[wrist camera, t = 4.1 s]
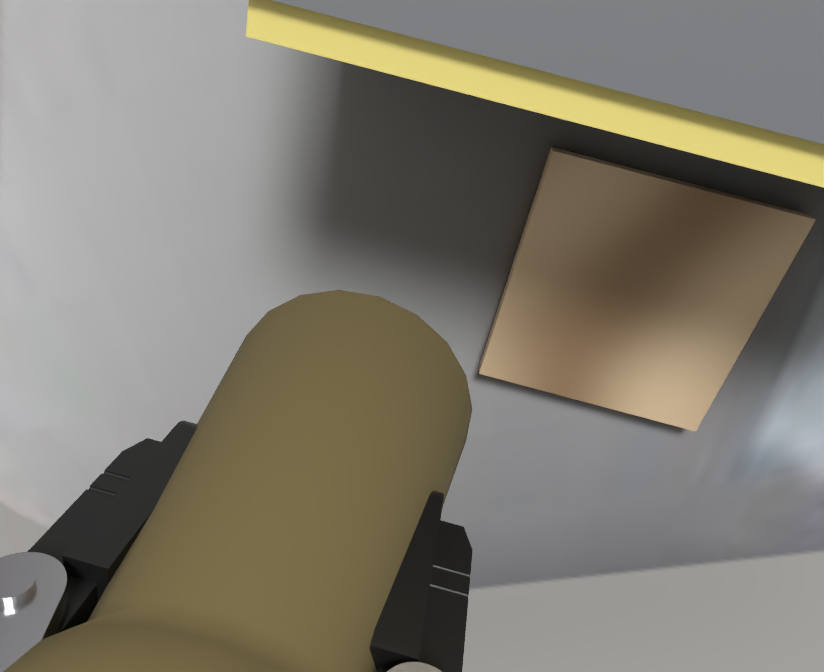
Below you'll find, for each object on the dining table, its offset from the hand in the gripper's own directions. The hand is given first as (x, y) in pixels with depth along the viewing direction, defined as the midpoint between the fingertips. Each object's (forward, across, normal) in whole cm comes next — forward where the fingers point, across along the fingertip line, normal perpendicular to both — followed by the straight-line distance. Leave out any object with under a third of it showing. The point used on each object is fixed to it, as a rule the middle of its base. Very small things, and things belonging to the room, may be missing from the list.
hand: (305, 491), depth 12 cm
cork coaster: (+8, -7, -3) cm, 11 cm away
